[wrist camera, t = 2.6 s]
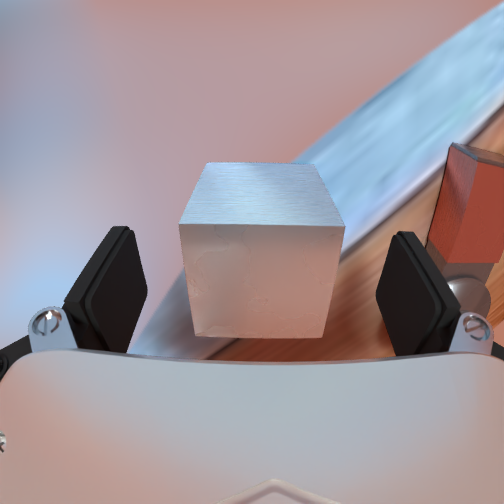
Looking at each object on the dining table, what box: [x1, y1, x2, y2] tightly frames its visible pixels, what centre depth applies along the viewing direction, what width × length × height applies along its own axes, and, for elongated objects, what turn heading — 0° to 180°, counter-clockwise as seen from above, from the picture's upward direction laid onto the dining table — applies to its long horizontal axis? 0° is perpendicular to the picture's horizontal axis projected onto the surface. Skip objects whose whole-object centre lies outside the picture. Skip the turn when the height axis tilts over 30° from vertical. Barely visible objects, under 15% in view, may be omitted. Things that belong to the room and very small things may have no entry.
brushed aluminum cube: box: [179, 162, 345, 338], centre depth 13 cm, size 5×5×6 cm
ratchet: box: [426, 143, 504, 319], centre depth 14 cm, size 14×7×6 cm, turn 179°
